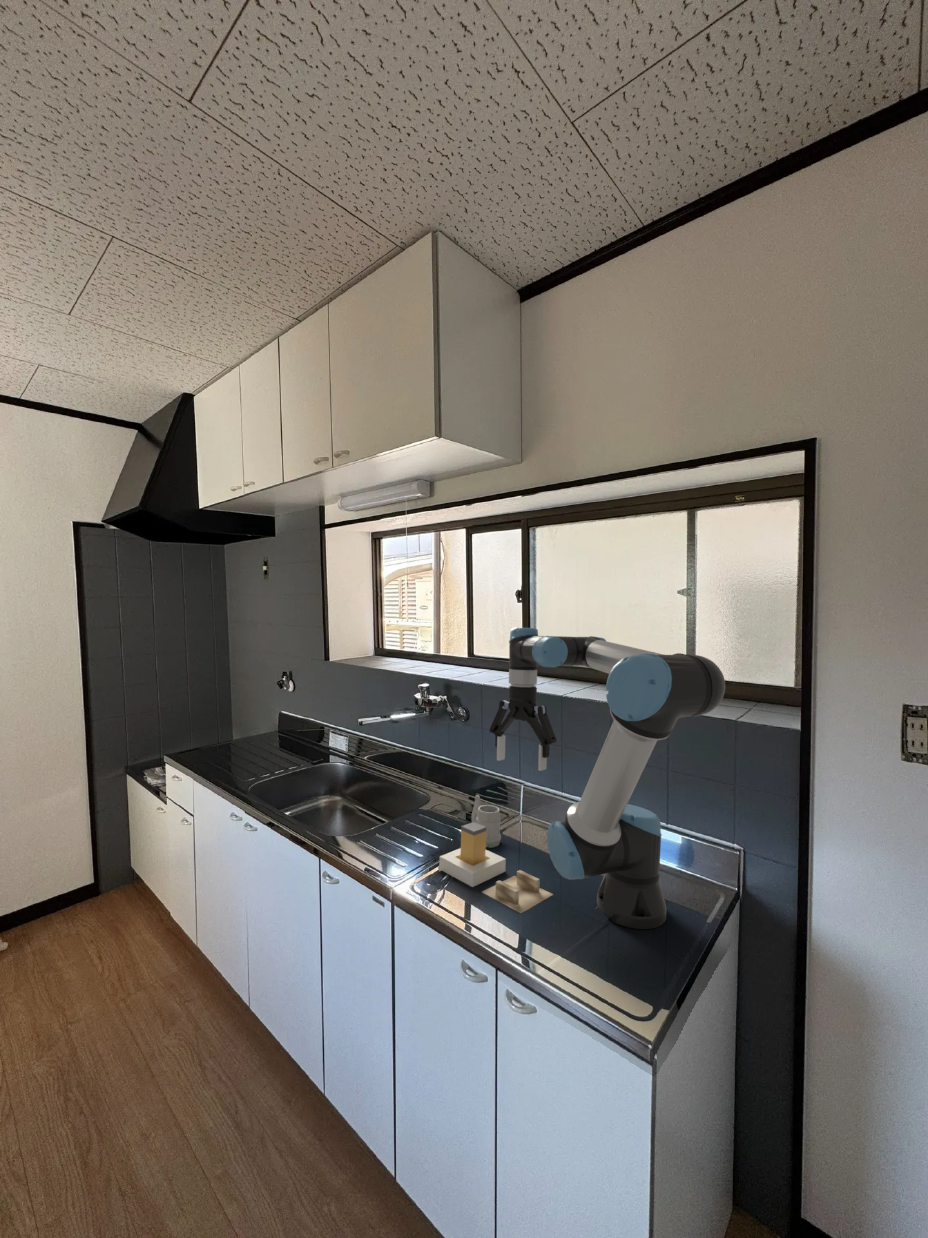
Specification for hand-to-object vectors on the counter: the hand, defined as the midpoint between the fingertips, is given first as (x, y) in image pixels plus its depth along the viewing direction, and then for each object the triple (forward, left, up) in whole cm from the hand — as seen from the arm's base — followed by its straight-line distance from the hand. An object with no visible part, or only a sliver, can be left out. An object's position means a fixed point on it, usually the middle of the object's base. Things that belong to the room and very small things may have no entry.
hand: (520, 764), depth 141 cm
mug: (+16, -4, -27) cm, 32 cm away
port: (+4, +13, -27) cm, 30 cm away
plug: (+4, +13, -27) cm, 30 cm away
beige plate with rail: (-11, +13, -27) cm, 31 cm away
